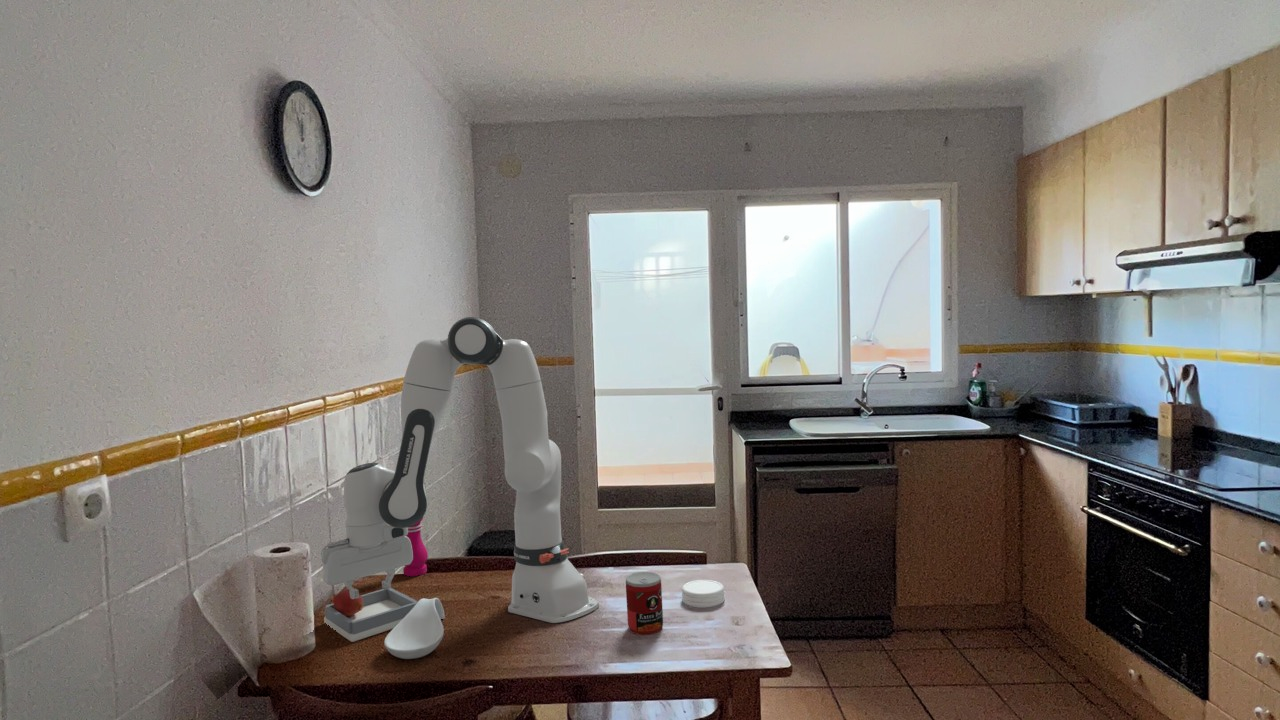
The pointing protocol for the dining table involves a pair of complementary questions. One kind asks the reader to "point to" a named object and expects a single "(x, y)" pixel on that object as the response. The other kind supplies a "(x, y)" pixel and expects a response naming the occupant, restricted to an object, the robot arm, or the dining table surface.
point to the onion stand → (371, 614)
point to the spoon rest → (417, 631)
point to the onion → (347, 603)
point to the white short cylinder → (703, 593)
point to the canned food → (644, 603)
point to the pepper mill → (416, 552)
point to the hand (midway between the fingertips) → (370, 593)
